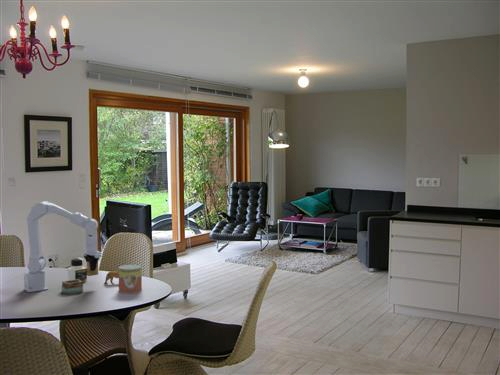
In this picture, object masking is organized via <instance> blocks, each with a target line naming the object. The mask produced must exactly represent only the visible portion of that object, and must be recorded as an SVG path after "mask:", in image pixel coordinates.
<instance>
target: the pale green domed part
mask: <svg viewBox="0 0 500 375" xmlns="http://www.w3.org/2000/svg"><path fill="white" fill-rule="evenodd" d="M83 292H84V285H83V286H82V287H75V288H69V289H66V288H64V287H62V286H61V293H62V294H64V295H76V294H80V293H83Z"/></svg>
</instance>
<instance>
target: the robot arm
mask: <svg viewBox="0 0 500 375" xmlns="http://www.w3.org/2000/svg"><path fill="white" fill-rule="evenodd" d="M30 208H31V209H30V211H29V212H28V215H27V217H26V225H27V233H28V242H29V252H30V253H29V254H30V255H29V257H28V264H27V269H28V271H29V272H26V273H24V275H23V290H24V291H26V292H28V293H33V292H38V291H44V290H45V291H46V290H49V287H46V269H45V267H46V265H47V261H46V259H45V257H44V253H43V251H42V244H41V234H40V225H39V221H40V220H41V218H42V217H44V216H45V215H49V214H56V215H59V216H61V217H64V218H65V219H68V220H70V221H69V222H70V223H71V224H73V225H76V226H78V227H80V228H82V229H84V230H85V249H84V250H83V254H84V256H83V259H84V260H85V262H86V263H87V261H89V263H90V269H91V271H94V270H95V269H96V265H97V262H98V263H99V260H100V258H101V257H100V256H101V254H100V253H101V251H100V250H98V248H99V247H98V227H99V222H98V220H96V219H95V218H91V217H90V216H88V217H87V216H86V215H83V214H82V212H74V213H73V212H70V211H69V210H67V209H65V208H64V207H61V206H59V205H57V204H55V203H53V202H49V201H47V200H43V201H41V202H36V203H35V204H34V205H33V206H32V207H30Z"/></svg>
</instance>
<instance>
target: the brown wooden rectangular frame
mask: <svg viewBox="0 0 500 375" xmlns="http://www.w3.org/2000/svg"><path fill="white" fill-rule="evenodd" d="M61 284H62V285H61V288H62V287H64V288H66V289H69V288H75V287H82V286H83V287H84V282H83V281H81V280H79V279H76V280H70V281H68V280H65V281H62V282H61Z"/></svg>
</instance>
